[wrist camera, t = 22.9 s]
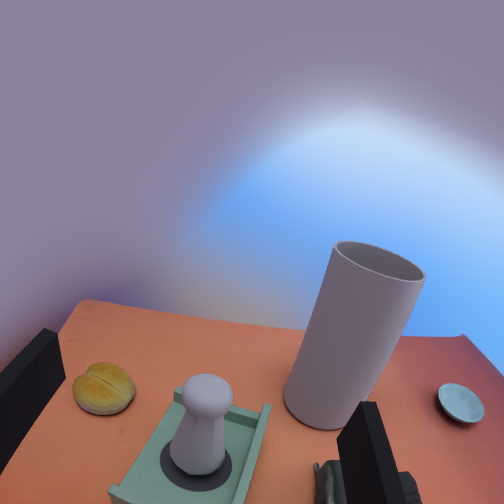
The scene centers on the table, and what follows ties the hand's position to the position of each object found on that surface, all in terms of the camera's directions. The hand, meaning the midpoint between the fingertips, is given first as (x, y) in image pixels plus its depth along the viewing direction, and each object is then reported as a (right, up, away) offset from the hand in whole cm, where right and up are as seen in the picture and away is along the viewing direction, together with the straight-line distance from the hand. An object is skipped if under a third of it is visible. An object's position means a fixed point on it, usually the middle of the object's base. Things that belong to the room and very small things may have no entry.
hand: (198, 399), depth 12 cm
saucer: (+41, -25, +33) cm, 58 cm away
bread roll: (-19, -14, +25) cm, 35 cm away
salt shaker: (-4, -17, +16) cm, 24 cm away
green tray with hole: (-5, -20, +17) cm, 27 cm away
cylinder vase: (+13, -18, +33) cm, 40 cm away
